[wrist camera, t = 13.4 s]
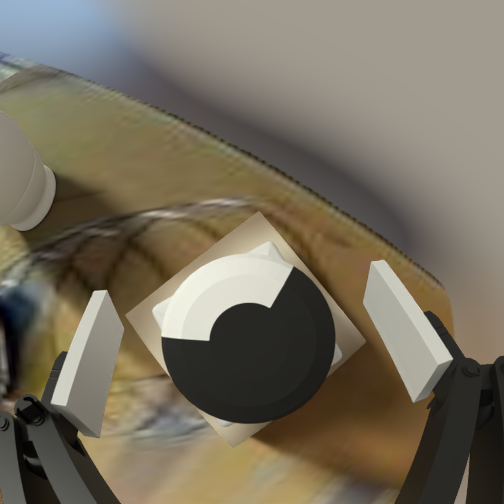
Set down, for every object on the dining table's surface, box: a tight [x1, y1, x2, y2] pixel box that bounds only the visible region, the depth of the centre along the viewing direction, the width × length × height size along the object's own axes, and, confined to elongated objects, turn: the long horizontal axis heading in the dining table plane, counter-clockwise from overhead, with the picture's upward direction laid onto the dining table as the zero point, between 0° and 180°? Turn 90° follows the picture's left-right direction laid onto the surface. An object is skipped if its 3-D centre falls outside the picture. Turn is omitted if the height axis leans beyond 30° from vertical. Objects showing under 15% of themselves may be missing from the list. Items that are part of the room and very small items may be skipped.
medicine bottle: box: [152, 241, 342, 427], centre depth 15 cm, size 7×7×12 cm
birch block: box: [125, 211, 366, 448], centre depth 23 cm, size 13×13×5 cm
